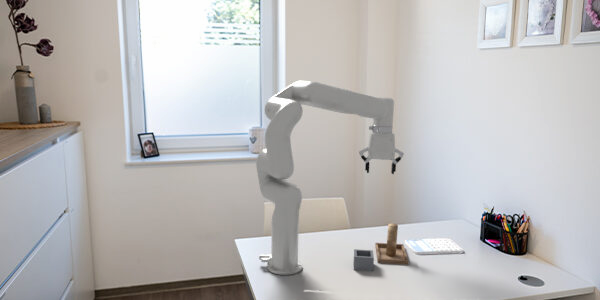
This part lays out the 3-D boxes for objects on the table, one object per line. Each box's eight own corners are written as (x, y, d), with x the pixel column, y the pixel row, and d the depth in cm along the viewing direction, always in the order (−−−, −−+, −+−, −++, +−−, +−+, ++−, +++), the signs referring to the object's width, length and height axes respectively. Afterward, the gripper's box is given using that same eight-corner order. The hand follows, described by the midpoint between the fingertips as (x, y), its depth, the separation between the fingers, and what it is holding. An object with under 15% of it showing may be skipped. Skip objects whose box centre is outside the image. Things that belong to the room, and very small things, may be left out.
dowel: (386, 256, 176) (388, 226, 174) (385, 252, 179) (387, 223, 177) (396, 257, 176) (398, 227, 173) (395, 253, 179) (397, 223, 177)
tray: (408, 266, 169) (408, 260, 169) (377, 264, 170) (378, 259, 170) (402, 249, 185) (403, 244, 185) (375, 247, 186) (375, 242, 186)
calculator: (464, 254, 183) (464, 249, 182) (415, 255, 180) (415, 251, 180) (449, 241, 196) (449, 237, 195) (403, 242, 193) (403, 238, 193)
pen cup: (353, 271, 164) (354, 256, 163) (353, 263, 171) (354, 249, 170) (373, 272, 163) (373, 257, 162) (372, 264, 170) (372, 250, 169)
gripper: (360, 130, 176) (358, 174, 180) (406, 132, 175) (403, 176, 178) (359, 127, 184) (357, 169, 187) (404, 129, 182) (401, 171, 185)
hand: (380, 172), depth 182 cm, fingers open, 9 cm apart
